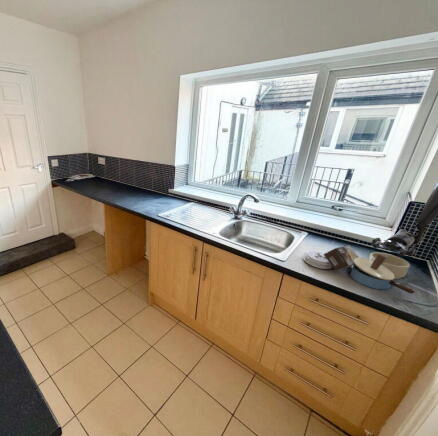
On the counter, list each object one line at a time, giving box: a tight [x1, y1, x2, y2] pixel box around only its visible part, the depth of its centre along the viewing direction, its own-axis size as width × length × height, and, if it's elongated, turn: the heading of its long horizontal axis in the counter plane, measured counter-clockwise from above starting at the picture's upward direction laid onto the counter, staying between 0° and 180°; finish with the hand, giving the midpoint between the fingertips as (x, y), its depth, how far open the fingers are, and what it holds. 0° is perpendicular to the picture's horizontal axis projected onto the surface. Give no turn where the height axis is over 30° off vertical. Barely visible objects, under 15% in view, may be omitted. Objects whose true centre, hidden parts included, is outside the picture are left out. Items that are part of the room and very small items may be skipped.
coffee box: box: [324, 245, 360, 272], centre depth 116 cm, size 9×6×16 cm
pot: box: [368, 251, 411, 280], centre depth 116 cm, size 14×14×6 cm
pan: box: [350, 265, 415, 294], centre depth 106 cm, size 21×14×4 cm, turn 22°
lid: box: [303, 249, 333, 270], centre depth 122 cm, size 13×13×5 cm
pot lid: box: [353, 252, 395, 281], centre depth 106 cm, size 15×15×8 cm
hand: (387, 250), depth 110 cm, fingers open, 8 cm apart
